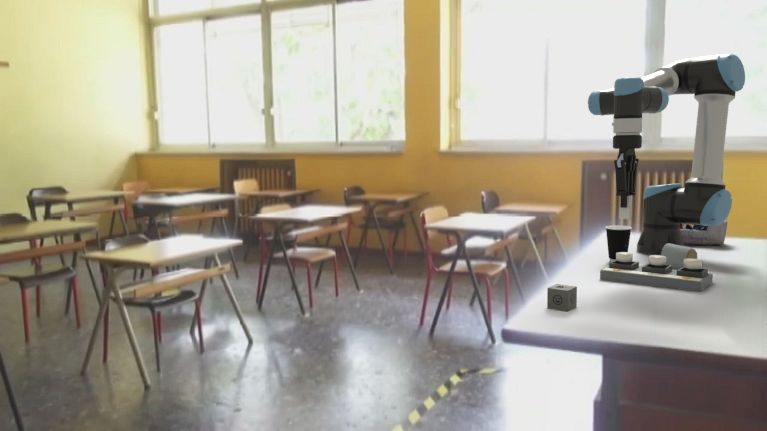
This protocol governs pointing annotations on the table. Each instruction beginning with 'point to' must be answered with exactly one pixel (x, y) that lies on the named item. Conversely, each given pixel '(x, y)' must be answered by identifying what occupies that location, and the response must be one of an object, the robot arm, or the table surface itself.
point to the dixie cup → (617, 240)
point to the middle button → (657, 260)
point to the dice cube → (562, 297)
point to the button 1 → (624, 257)
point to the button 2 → (692, 263)
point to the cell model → (703, 234)
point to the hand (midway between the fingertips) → (625, 218)
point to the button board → (657, 275)
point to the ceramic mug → (677, 255)
